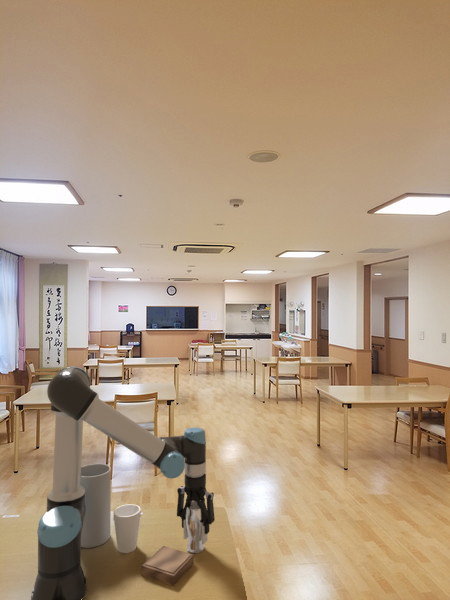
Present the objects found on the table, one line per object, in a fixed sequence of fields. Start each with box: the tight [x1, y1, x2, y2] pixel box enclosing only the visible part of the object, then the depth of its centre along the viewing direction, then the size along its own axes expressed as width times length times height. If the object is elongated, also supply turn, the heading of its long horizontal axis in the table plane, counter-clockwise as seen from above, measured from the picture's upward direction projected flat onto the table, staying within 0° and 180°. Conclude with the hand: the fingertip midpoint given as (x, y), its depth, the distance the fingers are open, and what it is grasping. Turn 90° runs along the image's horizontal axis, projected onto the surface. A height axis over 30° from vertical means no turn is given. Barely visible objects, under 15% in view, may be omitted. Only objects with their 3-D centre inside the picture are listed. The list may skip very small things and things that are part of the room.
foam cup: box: [113, 503, 142, 554], centre depth 144 cm, size 10×9×13 cm
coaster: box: [141, 545, 195, 587], centre depth 132 cm, size 12×12×3 cm
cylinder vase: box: [81, 463, 112, 549], centre depth 150 cm, size 12×12×25 cm
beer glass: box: [186, 501, 205, 554], centre depth 144 cm, size 7×7×15 cm
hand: (195, 539), depth 144 cm, fingers closed on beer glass, 7 cm apart
